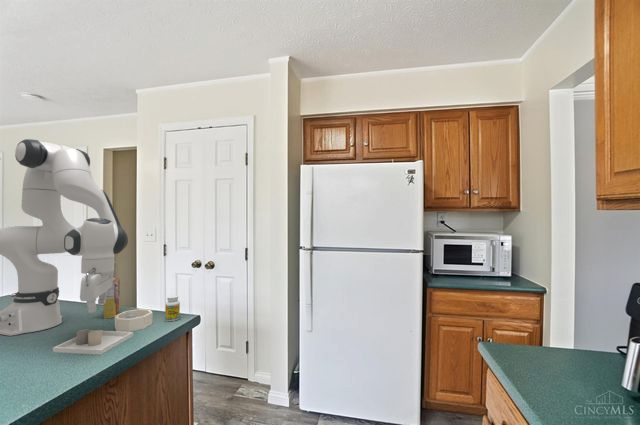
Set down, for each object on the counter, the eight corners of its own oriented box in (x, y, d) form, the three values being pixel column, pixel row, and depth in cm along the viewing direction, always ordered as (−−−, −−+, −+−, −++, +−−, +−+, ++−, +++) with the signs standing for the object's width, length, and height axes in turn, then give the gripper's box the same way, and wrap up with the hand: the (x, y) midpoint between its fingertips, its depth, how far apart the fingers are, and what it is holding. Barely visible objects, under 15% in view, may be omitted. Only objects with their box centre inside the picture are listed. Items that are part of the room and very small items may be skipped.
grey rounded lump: (122, 326, 112) (123, 315, 112) (128, 322, 115) (128, 312, 115) (132, 326, 112) (132, 315, 112) (137, 322, 116) (138, 312, 116)
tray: (52, 354, 91) (52, 347, 91) (91, 335, 105) (91, 330, 105) (100, 356, 89) (100, 350, 89) (133, 337, 103) (133, 332, 103)
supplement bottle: (178, 316, 126) (179, 294, 126) (180, 320, 121) (180, 297, 122) (164, 318, 123) (165, 295, 123) (165, 322, 118) (166, 299, 119)
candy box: (108, 312, 130) (109, 278, 130) (119, 311, 131) (120, 277, 132) (102, 319, 121) (103, 282, 122) (114, 317, 123) (115, 281, 123)
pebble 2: (84, 345, 95) (85, 333, 95) (94, 341, 99) (94, 329, 99) (95, 346, 95) (95, 334, 95) (104, 341, 99) (104, 329, 99)
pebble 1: (73, 345, 96) (73, 332, 96) (82, 340, 99) (83, 328, 99) (83, 345, 95) (83, 333, 96) (92, 340, 99) (93, 329, 99)
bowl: (107, 332, 108) (107, 318, 108) (130, 320, 120) (130, 308, 120) (137, 333, 107) (137, 320, 107) (157, 321, 119) (158, 309, 119)
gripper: (99, 270, 89) (98, 316, 89) (117, 262, 108) (116, 299, 108) (73, 272, 87) (72, 318, 86) (96, 263, 106) (95, 301, 105)
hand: (97, 308), depth 97 cm, fingers open, 8 cm apart
